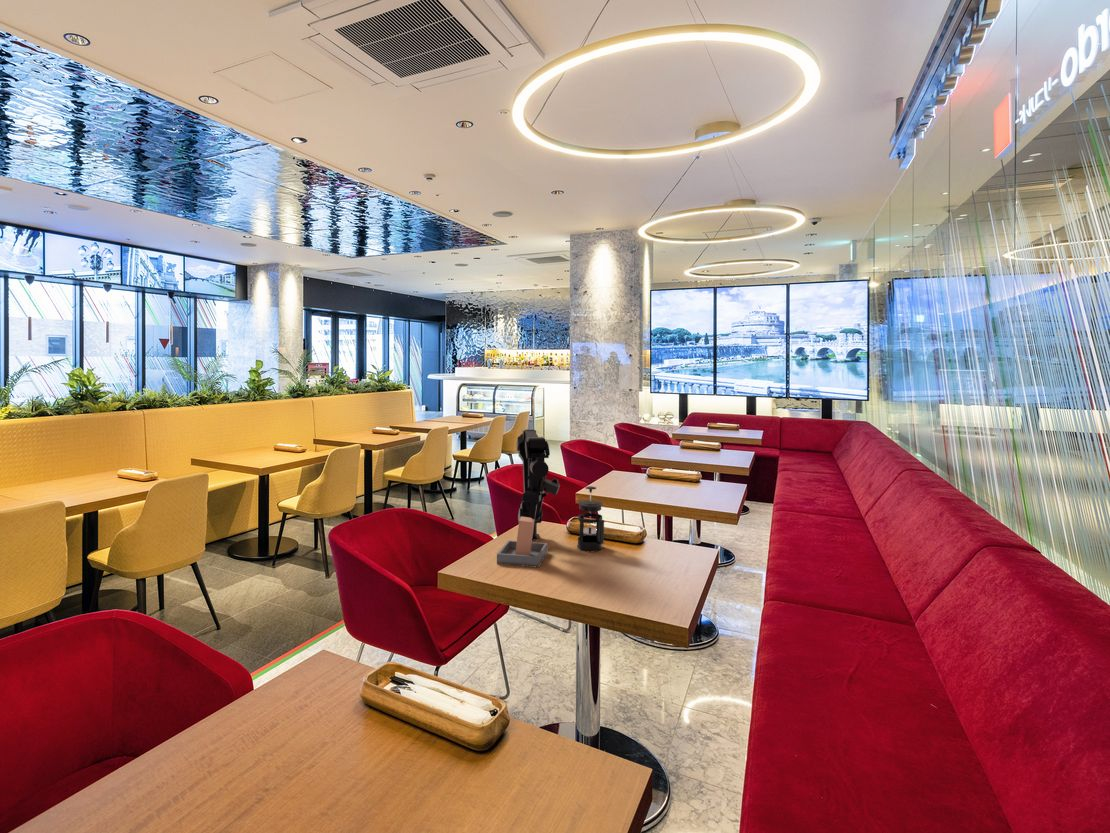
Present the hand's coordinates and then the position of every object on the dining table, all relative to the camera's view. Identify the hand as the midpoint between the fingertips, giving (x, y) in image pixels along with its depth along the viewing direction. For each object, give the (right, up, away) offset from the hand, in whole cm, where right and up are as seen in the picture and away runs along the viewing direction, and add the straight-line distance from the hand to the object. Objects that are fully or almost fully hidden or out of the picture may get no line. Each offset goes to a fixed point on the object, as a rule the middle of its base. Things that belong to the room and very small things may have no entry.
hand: (535, 515), depth 202 cm
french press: (+20, -13, +7) cm, 25 cm away
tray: (-4, -14, -5) cm, 16 cm away
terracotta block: (-4, -13, -5) cm, 15 cm away
